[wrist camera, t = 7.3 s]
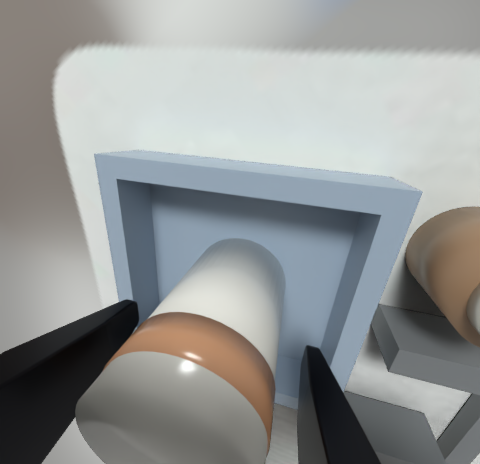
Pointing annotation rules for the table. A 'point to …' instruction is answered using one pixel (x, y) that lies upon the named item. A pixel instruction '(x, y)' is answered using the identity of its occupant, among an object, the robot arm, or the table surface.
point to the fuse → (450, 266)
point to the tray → (261, 241)
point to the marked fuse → (195, 368)
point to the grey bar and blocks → (430, 370)
